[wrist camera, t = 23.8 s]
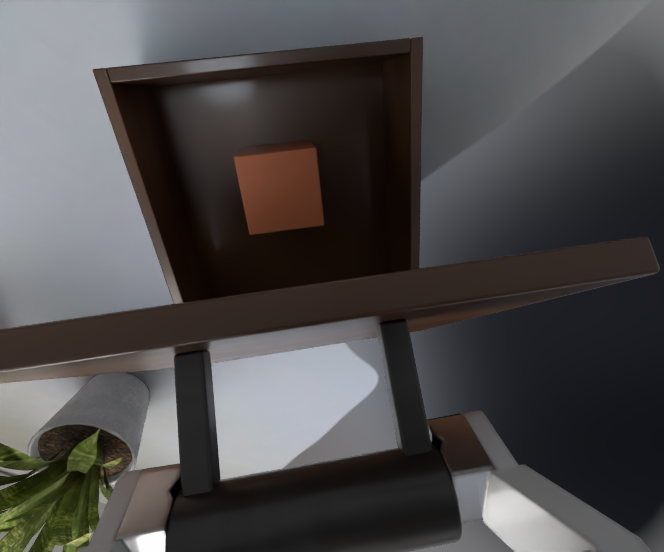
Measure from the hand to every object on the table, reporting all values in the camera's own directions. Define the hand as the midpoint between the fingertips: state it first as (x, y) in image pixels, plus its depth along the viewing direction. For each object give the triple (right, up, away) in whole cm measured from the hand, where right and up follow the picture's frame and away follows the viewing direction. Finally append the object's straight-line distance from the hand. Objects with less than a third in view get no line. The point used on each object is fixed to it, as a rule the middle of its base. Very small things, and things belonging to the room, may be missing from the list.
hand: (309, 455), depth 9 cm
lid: (-1, +3, +6) cm, 6 cm away
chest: (-3, +10, +16) cm, 19 cm away
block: (-3, +11, +15) cm, 19 cm away
